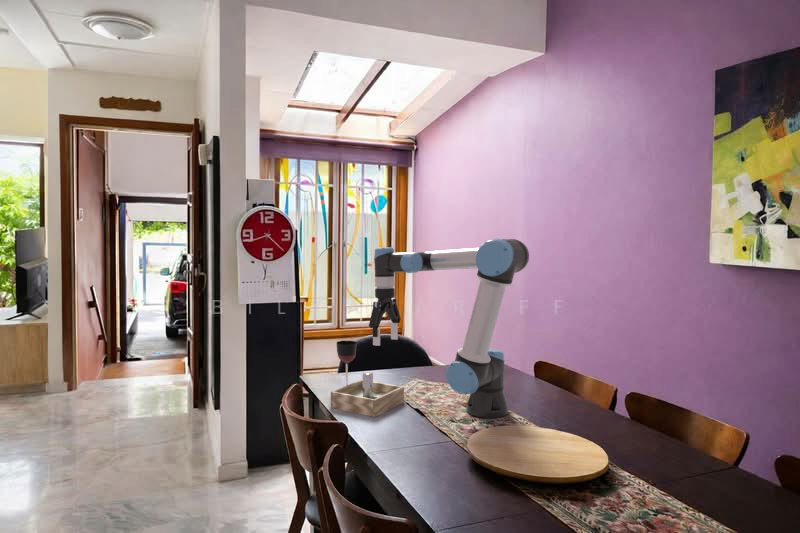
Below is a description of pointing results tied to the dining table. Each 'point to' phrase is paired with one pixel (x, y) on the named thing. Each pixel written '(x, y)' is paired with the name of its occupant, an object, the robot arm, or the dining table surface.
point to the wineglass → (346, 353)
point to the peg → (368, 385)
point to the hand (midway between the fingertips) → (385, 342)
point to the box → (355, 402)
